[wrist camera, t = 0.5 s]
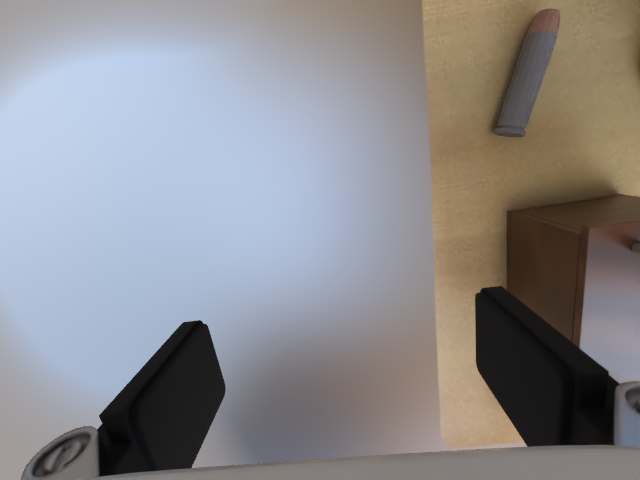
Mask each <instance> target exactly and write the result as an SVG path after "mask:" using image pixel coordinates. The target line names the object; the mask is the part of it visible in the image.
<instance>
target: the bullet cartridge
mask: <svg viewBox="0 0 640 480" xmlns="http://www.w3.org/2000/svg"><path fill="white" fill-rule="evenodd" d="M559 23H560V11H559V10H557V9H545V10H542V11H540V12H539V13H538V14H537V16H536V17H535V18H534V20H533V22H532V24H531V26H530V28H529V30H528V33H527V35H526V37H525V39H524V42H523V45H522V48H521V52H520V55H519V58H518V61H517V64H516V67H515V70H514V74H513V77H512V80H511V83H510V86H509V89H508V92H507V95H506V99H505V102H504V105H503V108H502V111H501V114H500V117H499V120H498V124H497V128H496V129H494V131H493V133H494V134H497V135H501V136H507V137H523V136H525V134H526V133H525V131H523V130H525V128H526V125H527V123H528V120H529V117H530V114H531V111H532V108H533V105H534V102H535V99H536V96H537V93H538V91H539V88H540V85H541V82H542V79H543V76H544V73H545V70H546V67H547V64H548V62H549V59H550V56H551V53H552V50H553V47H554V44H555V41H556V38H557V32H558V28H559Z"/></svg>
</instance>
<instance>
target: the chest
mask: <svg viewBox="0 0 640 480" xmlns="http://www.w3.org/2000/svg"><path fill="white" fill-rule="evenodd" d="M634 218H640V197H636V196H628V195H621V194H619V195H612V196H606V197H599V198H592V199H586V200H579V201H572V202H565V203H559V204H552V205H545V206H539V207H532V208H525V209H518V210H512V211H507V291H509V292H510V293H511V294H512V295H514V296H515V297H516V298H517V299H519V300H520V301H521V302H522V303H524V304H525V305H526V306H527V307H529V308H530V309H531V310H532V311H534V312H535V313H536V314H537V315H539V316H540V317H541V318H542V319H544V320H545V321H546V322H547V323H549V324H550V325H551V326H552V327H554V328H555V329H556V330H557V331H559V332H560V333H561V334H562V335H564V336H565V337H566V338H567V339H569V340H570V341H571V342H572V343H573V331H574V318H575V304H576V291H577V278H578V265H579V252H580V239H581V226H584V225H591V224H598V223H605V222H612V221H619V220H627V219H634Z"/></svg>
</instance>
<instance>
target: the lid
mask: <svg viewBox="0 0 640 480" xmlns="http://www.w3.org/2000/svg"><path fill="white" fill-rule="evenodd" d="M573 343H574V344H575V345H576V346H577V347H579V348H580V349H581V350H582V351H584V352H585V353H586V354H587V355H589V356H590V357H591V358H592V359H594V360H595V361H596V362H597V363H599V364H600V365H601V366H602V367H604V368H605V369H606V370H607V371H609V375H610V376H611V377H612V378H613V379H615V380H616V381H617V382H618V383H619V384H622V383H623V382H630V381H640V218H634V219H627V220H619V221H612V222H605V223H598V224H591V225H584V226H581V239H580V252H579V265H578V278H577V291H576V304H575V318H574V331H573Z"/></svg>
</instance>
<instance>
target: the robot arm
mask: <svg viewBox="0 0 640 480" xmlns="http://www.w3.org/2000/svg"><path fill="white" fill-rule="evenodd" d="M475 307H476V364H477V368H478V371H479V373H480V374H481V376H482V378H483V379H484V381H485V382H486V384H487V385H488V387H489V388H490V390H491V391H492V393H493V394H494V396H495V397H496V399H497V400H498V402H499V403H500V405H501V407H502V408H503V410H504V411H505V413H506V414H507V416H508V417H509V419H510V420H511V422H512V423H513V425H514V426H515V428H516V429H517V431H518V432H519V434H520V436H521V437H522V439H523V440H524V442H525V443H526V444H527V446H528V447H515V448H493V449H476V450H458V451H443V452H425V453H410V454H392V455H377V456H361V457H345V458H330V459H315V460H300V461H285V462H271V463H257V464H243V465H229V466H216V467H201V468H191V467H192V464H193V463H194V461H195V459H196V457H197V454H198V452H199V450H200V448H201V445H202V443H203V441H204V439H205V437H206V435H207V433H208V430H209V428H210V426H211V424H212V422H213V419H214V417H215V415H216V413H217V411H218V409H219V406H220V404H221V402H222V400H223V397H224V395H225V383H224V379H223V376H222V373H221V369H220V366H219V362H218V359H217V356H216V352H215V349H214V346H213V342H212V339H211V335H210V332H209V329H208V326H207V325H206V324H203V323H202V321H200V320H199V321H192V322H184V323H182V324H181V325H180V326H179V328H178V329H177V330H176V331H175V332H174V333H173V334H172V335H171V336H170V338H169V339H168V340H167V341H166V342H165V343H164V344H163V345H162V346H161V348H160V349H159V350H158V351H157V352H156V353H155V354H154V355H153V356H152V358H151V359H150V360H149V361H148V362H147V363H146V364H145V365H144V366H143V368H142V369H141V370H140V371H139V372H138V373H137V374H136V375H135V376H134V377H133V379H132V380H131V381H130V382H129V383H128V384H127V385H126V387H124V389H123V390H122V391H121V392H120V393H119V394H118V395H117V396H116V398H115V399H114V400H113V401H112V402H111V403H110V404H109V405H108V406H107V408H106V409H105V410H104V411H103V412H102V413H101V414H100V415H99V417H100V419H101V421H102V423H103V424H102V425H101V426H100V427H99V428H98V429H96V428H94V427H92V426H84V427H80V428H76V429H74V430H72V431H69V432H67V433H64V434H63V435H61V436H59V437H58V438H56V439H54V440H53V441H51V442H50V443H49V444H47V445H46V446H45V447H43V448H42V449H41V450H40V451H39V452H38V453H37V454H36V455H35V456H34V457H33V458H32V459H31V460H30V462H29V463H28V464H27V465H26V468H25V469H24V471H23V474H22V477H21V480H640V381H630V382H623V383H622V384H619V383H618V382H617V381H616V380H615V379H613V378H612V377H611V376H610V375H609V371H607V370H606V369H605V368H604V367H602V366H601V365H600V364H599V363H597V362H596V361H595V360H594V359H592V358H591V357H590V356H589V355H587V354H586V353H585V352H584V351H582V350H581V349H580V348H579V347H577V346H576V345H575V344H574V343H572V342H571V341H570V340H569V339H567V338H566V337H565V336H564V335H562V334H561V333H560V332H559V331H557V330H556V329H555V328H554V327H552V326H551V325H550V324H549V323H547V322H546V321H545V320H544V319H542V318H541V317H540V316H539V315H537V314H536V313H535V312H534V311H532V310H531V309H530V308H529V307H527V306H526V305H525V304H524V303H522V302H521V301H520V300H519V299H517V298H516V297H515V296H514V295H512V294H511V293H510V292H509V291H507V290H506V289H505V288H504V287H502V286H497V287H489V288H482V289H481V291H480V293H477V294H476V297H475Z"/></svg>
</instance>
